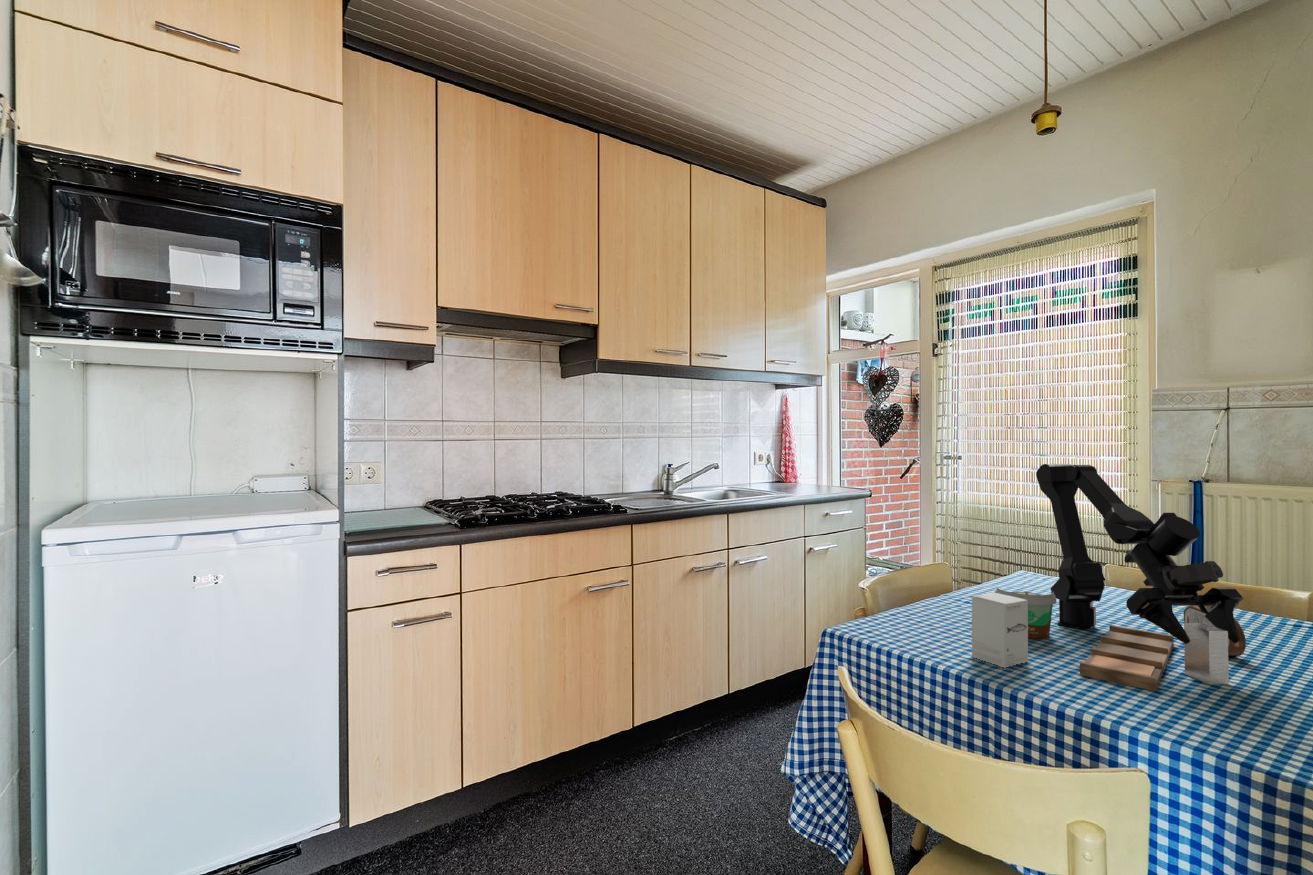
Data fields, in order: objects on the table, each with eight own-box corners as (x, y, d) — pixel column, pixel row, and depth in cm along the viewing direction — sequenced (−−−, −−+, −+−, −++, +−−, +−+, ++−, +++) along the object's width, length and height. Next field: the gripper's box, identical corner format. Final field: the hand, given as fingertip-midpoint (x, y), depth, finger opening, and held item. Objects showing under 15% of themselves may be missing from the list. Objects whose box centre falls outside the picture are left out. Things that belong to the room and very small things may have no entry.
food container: (998, 637, 135) (998, 592, 135) (994, 629, 141) (994, 587, 141) (1063, 644, 131) (1062, 598, 131) (1056, 635, 136) (1055, 591, 136)
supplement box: (1005, 669, 116) (1004, 603, 116) (970, 657, 123) (970, 595, 123) (1029, 663, 119) (1029, 599, 119) (994, 651, 126) (994, 591, 126)
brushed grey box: (1184, 673, 114) (1184, 623, 114) (1202, 673, 114) (1202, 623, 114) (1209, 684, 109) (1208, 631, 109) (1228, 683, 109) (1227, 631, 109)
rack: (1079, 674, 113) (1079, 662, 113) (1110, 634, 137) (1110, 624, 137) (1155, 691, 105) (1155, 678, 105) (1173, 645, 130) (1173, 635, 130)
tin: (1248, 662, 120) (1247, 619, 120) (1229, 661, 120) (1228, 618, 121) (1196, 638, 134) (1196, 600, 135) (1180, 637, 135) (1179, 600, 135)
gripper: (1137, 546, 115) (1190, 620, 104) (1232, 545, 116) (1296, 619, 104) (1106, 578, 123) (1152, 650, 112) (1195, 577, 123) (1251, 650, 112)
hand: (1212, 642), depth 110 cm, fingers open, 9 cm apart
